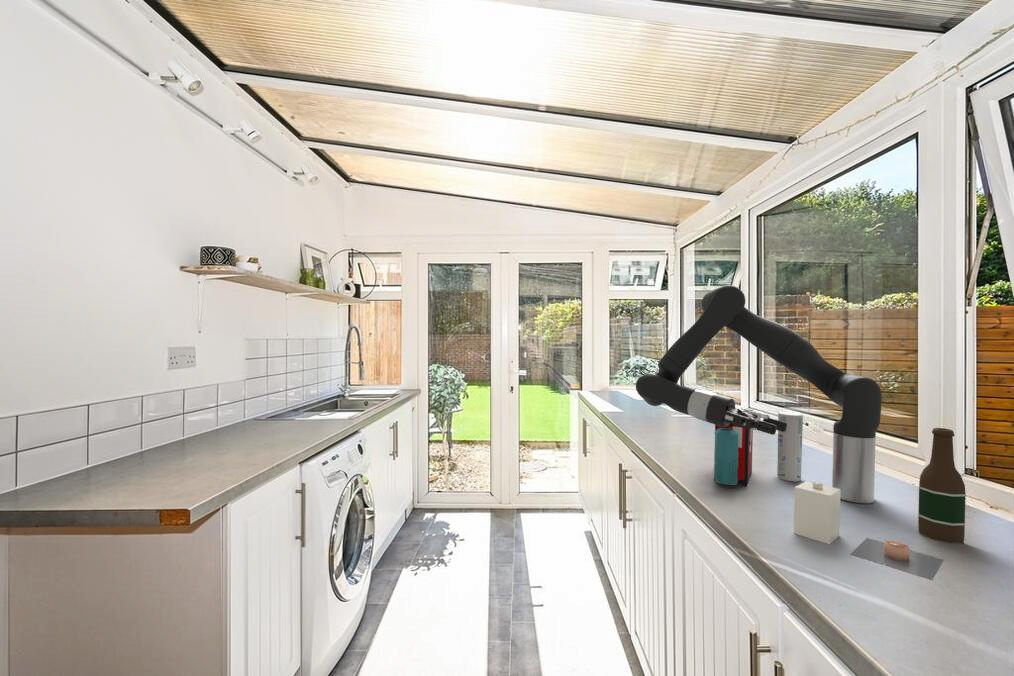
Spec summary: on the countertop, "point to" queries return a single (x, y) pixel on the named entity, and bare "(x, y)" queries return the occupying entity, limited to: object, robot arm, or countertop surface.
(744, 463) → the cleaning product box
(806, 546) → the countertop surface
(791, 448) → the spray can
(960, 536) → the beer bottle
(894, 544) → the ramekin
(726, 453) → the beverage bottle
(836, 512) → the knobbed cream block
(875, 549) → the slate coaster
